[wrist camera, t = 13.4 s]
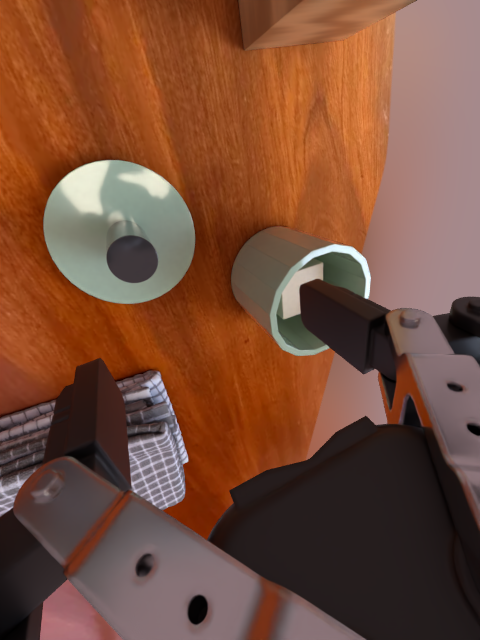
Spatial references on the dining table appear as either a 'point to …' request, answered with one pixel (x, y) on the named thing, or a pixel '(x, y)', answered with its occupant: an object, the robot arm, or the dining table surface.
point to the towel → (143, 442)
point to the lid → (119, 231)
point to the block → (290, 294)
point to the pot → (277, 270)
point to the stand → (309, 20)
